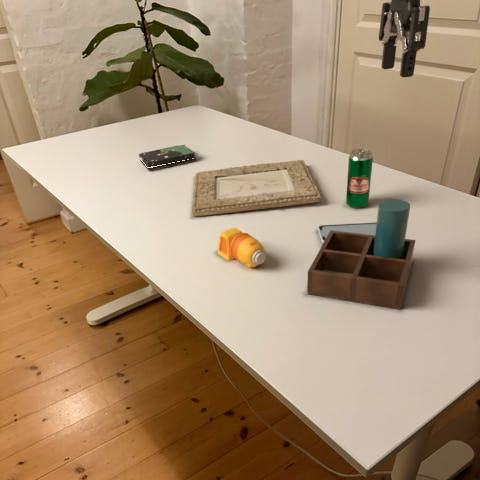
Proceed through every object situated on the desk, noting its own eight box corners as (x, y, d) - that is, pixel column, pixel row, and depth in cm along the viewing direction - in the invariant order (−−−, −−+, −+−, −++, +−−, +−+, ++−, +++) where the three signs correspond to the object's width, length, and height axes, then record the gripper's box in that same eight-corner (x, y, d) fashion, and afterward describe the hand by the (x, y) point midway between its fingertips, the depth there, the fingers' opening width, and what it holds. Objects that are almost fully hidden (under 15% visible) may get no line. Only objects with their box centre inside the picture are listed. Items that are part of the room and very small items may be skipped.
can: (402, 262, 84) (412, 200, 77) (398, 276, 81) (408, 212, 73) (374, 258, 86) (381, 197, 79) (369, 272, 83) (376, 209, 75)
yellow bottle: (273, 266, 88) (237, 243, 96) (272, 241, 85) (235, 219, 93) (250, 277, 86) (215, 252, 94) (248, 251, 82) (212, 228, 90)
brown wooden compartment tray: (411, 262, 85) (415, 239, 82) (400, 309, 74) (403, 285, 72) (329, 251, 91) (330, 230, 88) (307, 294, 80) (307, 271, 77)
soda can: (345, 209, 105) (349, 156, 98) (345, 200, 109) (349, 148, 102) (368, 209, 104) (374, 155, 97) (367, 200, 108) (372, 148, 101)
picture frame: (196, 177, 129) (194, 168, 127) (303, 165, 128) (303, 155, 127) (193, 219, 108) (191, 209, 106) (322, 204, 107) (322, 193, 106)
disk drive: (149, 172, 135) (196, 161, 139) (146, 163, 133) (194, 151, 137) (140, 162, 143) (185, 152, 147) (138, 153, 141) (183, 143, 145)
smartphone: (399, 238, 91) (322, 242, 91) (398, 242, 92) (322, 246, 92) (389, 221, 97) (317, 225, 97) (388, 225, 97) (317, 229, 98)
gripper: (454, -43, 69) (434, 77, 79) (413, -41, 81) (400, 64, 90) (406, -38, 69) (392, 82, 79) (371, -37, 80) (363, 68, 90)
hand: (396, 72), depth 85 cm, fingers open, 8 cm apart
